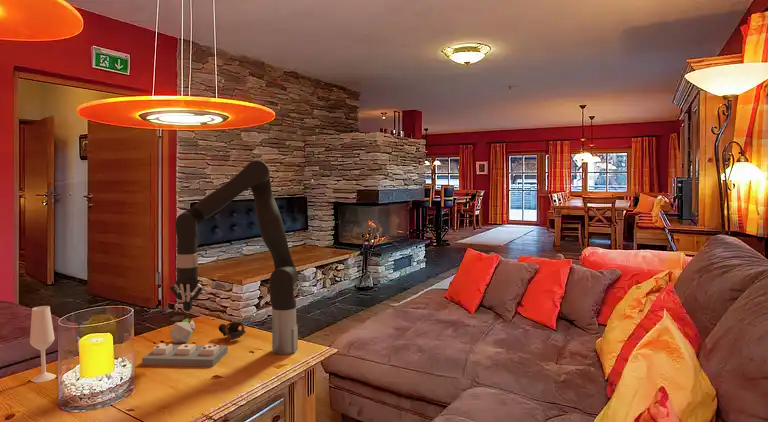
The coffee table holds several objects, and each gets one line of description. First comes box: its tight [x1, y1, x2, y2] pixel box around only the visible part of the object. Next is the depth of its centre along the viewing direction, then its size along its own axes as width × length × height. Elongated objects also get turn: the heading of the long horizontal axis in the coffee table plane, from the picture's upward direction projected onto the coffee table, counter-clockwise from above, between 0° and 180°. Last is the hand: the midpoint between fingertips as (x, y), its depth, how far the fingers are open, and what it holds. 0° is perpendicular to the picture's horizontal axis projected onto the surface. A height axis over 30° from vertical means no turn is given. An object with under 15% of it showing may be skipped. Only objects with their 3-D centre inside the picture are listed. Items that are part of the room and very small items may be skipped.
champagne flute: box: [29, 305, 57, 383], centre depth 159 cm, size 7×7×24 cm
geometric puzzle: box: [181, 317, 197, 332], centre depth 207 cm, size 7×7×8 cm
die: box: [169, 321, 194, 344], centre depth 196 cm, size 8×9×10 cm
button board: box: [141, 344, 229, 367], centre depth 178 cm, size 26×14×2 cm, turn 88°
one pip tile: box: [177, 343, 197, 355], centre depth 178 cm, size 5×5×3 cm
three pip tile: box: [200, 344, 220, 355], centre depth 178 cm, size 5×5×3 cm
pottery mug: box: [218, 320, 246, 343], centre depth 200 cm, size 12×10×8 cm
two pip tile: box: [152, 343, 174, 354], centre depth 178 cm, size 5×5×3 cm
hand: (187, 310), depth 179 cm, fingers closed
